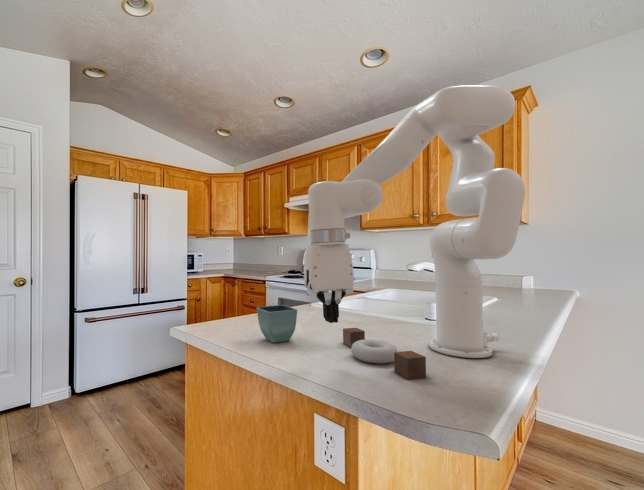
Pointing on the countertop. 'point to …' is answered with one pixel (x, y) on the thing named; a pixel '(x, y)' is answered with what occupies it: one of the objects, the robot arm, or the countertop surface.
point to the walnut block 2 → (410, 364)
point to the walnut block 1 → (352, 336)
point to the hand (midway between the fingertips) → (331, 321)
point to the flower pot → (277, 322)
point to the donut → (374, 351)
